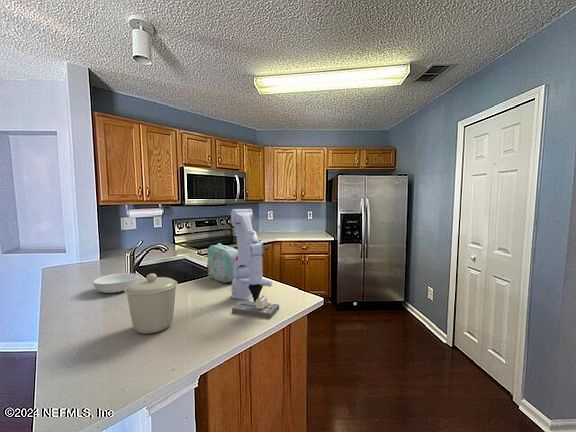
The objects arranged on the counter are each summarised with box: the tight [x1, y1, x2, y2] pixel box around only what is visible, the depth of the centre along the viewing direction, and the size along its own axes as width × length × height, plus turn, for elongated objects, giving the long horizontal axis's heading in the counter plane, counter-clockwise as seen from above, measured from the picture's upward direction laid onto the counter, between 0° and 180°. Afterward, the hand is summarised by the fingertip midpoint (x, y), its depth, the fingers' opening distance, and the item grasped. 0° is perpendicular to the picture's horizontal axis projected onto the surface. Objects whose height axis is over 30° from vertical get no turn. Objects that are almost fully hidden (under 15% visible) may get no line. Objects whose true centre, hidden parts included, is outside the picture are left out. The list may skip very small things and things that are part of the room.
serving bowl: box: [92, 272, 140, 294], centre depth 148 cm, size 21×21×7 cm
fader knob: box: [256, 294, 268, 309], centre depth 119 cm, size 3×5×4 cm, turn 161°
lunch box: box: [206, 242, 240, 284], centre depth 166 cm, size 27×10×21 cm, turn 43°
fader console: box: [231, 299, 280, 319], centre depth 120 cm, size 18×10×2 cm, turn 71°
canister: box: [123, 273, 179, 335], centre depth 104 cm, size 18×18×21 cm
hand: (256, 301), depth 119 cm, fingers closed
